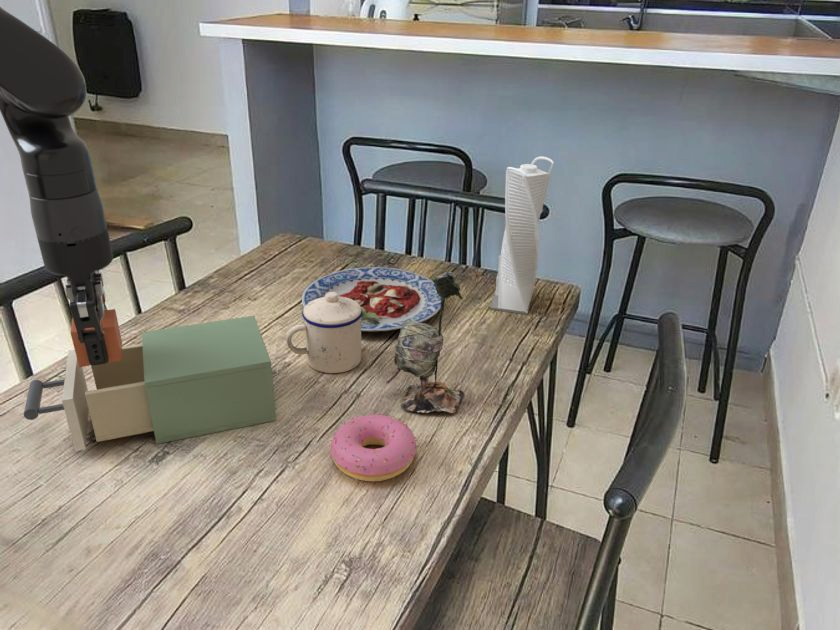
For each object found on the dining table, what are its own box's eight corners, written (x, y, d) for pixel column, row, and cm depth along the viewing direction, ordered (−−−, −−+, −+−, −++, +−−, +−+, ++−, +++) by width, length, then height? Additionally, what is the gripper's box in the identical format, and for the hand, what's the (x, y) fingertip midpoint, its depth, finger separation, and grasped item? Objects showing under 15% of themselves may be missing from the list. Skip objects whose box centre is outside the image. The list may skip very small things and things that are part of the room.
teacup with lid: (351, 341, 114) (349, 277, 108) (371, 367, 106) (370, 301, 101) (280, 355, 109) (275, 289, 104) (296, 384, 102) (291, 315, 96)
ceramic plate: (347, 267, 140) (347, 254, 139) (464, 293, 131) (465, 279, 130) (273, 320, 119) (272, 305, 118) (405, 355, 110) (406, 339, 109)
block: (79, 367, 85) (70, 332, 83) (80, 348, 89) (72, 314, 87) (122, 360, 86) (114, 326, 84) (122, 342, 91) (115, 308, 88)
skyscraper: (539, 299, 129) (556, 152, 116) (534, 318, 122) (552, 164, 109) (495, 293, 131) (507, 148, 118) (488, 312, 124) (500, 160, 111)
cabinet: (156, 444, 89) (144, 382, 84) (152, 389, 100) (141, 331, 95) (276, 420, 94) (270, 361, 89) (259, 370, 105) (254, 315, 101)
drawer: (30, 460, 84) (14, 408, 80) (40, 405, 94) (26, 356, 91) (195, 428, 90) (187, 378, 87) (187, 379, 101) (180, 333, 97)
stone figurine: (403, 376, 104) (404, 256, 95) (471, 396, 100) (480, 272, 91) (377, 403, 98) (376, 277, 89) (449, 426, 94) (455, 295, 84)
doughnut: (326, 437, 91) (325, 412, 89) (406, 428, 93) (407, 402, 91) (336, 493, 81) (334, 466, 79) (425, 481, 84) (426, 454, 82)
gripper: (41, 211, 84) (71, 331, 92) (29, 253, 72) (64, 387, 80) (107, 205, 87) (130, 322, 95) (105, 245, 75) (132, 375, 83)
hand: (100, 351), depth 87 cm, fingers closed on block, 5 cm apart
